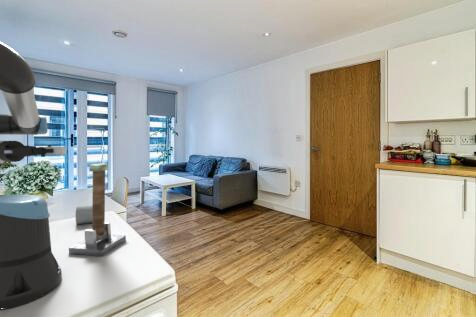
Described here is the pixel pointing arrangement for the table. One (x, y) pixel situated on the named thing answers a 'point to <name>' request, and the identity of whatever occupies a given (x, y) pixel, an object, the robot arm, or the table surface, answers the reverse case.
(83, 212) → the ceramic mug
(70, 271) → the table surface
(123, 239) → the stand base
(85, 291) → the table surface
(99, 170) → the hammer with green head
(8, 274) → the robot arm
